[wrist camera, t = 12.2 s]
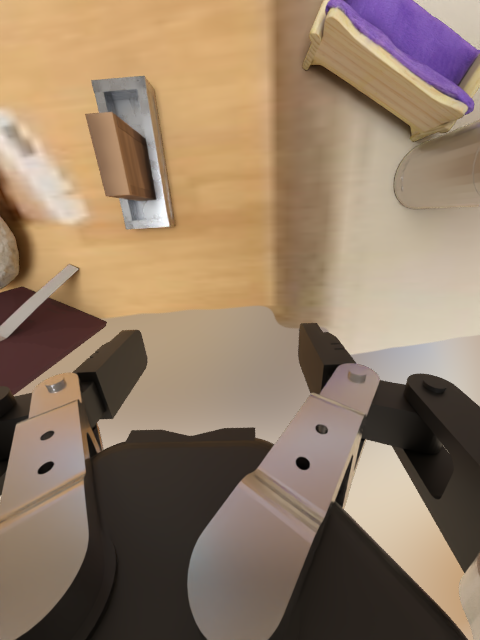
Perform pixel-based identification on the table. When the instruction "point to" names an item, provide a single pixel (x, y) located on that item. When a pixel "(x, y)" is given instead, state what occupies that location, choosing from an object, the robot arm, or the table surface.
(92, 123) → the door panel
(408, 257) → the table surface
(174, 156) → the table surface
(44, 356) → the picture frame
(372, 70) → the toy sofa
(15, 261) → the decorative shell
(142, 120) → the tray
